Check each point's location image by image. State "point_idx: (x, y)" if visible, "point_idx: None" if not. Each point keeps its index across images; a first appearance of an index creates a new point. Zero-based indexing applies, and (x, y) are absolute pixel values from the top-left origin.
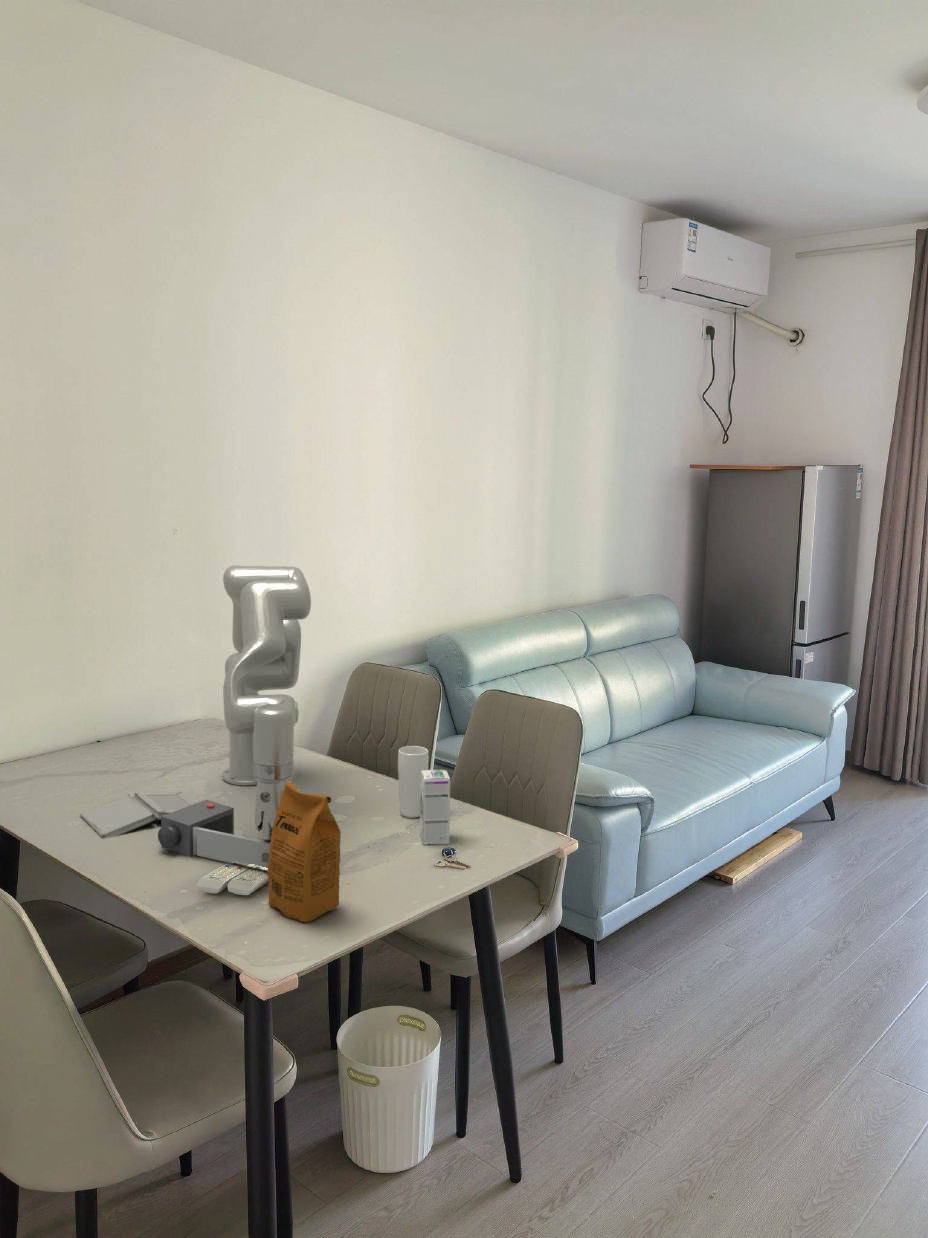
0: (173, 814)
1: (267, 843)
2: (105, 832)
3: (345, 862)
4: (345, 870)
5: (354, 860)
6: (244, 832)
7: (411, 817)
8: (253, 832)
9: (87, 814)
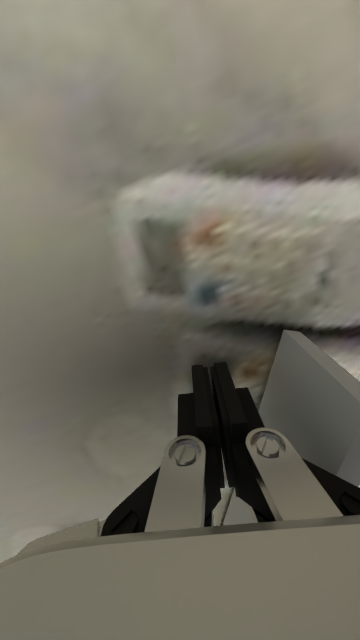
0: None
1: (357, 477)
2: None
3: (65, 60)
4: (162, 7)
5: (15, 8)
6: (18, 528)
7: None
8: (4, 511)
9: None
